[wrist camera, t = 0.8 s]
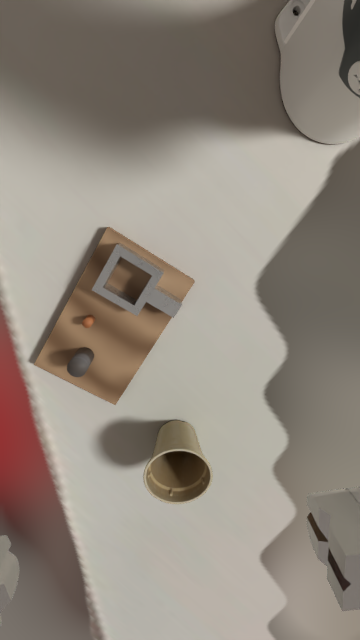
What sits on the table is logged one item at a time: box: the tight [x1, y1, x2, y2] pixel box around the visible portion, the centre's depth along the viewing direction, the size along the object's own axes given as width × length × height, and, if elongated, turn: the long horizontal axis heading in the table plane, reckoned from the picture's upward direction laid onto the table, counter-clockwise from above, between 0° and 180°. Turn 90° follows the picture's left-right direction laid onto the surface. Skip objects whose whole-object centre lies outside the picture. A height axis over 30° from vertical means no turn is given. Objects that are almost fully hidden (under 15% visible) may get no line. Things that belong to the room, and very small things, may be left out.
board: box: [34, 227, 195, 405], centre depth 40 cm, size 22×13×6 cm, turn 148°
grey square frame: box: [92, 243, 182, 318], centre depth 38 cm, size 10×6×3 cm, turn 58°
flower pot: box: [144, 420, 213, 504], centre depth 44 cm, size 9×9×9 cm
